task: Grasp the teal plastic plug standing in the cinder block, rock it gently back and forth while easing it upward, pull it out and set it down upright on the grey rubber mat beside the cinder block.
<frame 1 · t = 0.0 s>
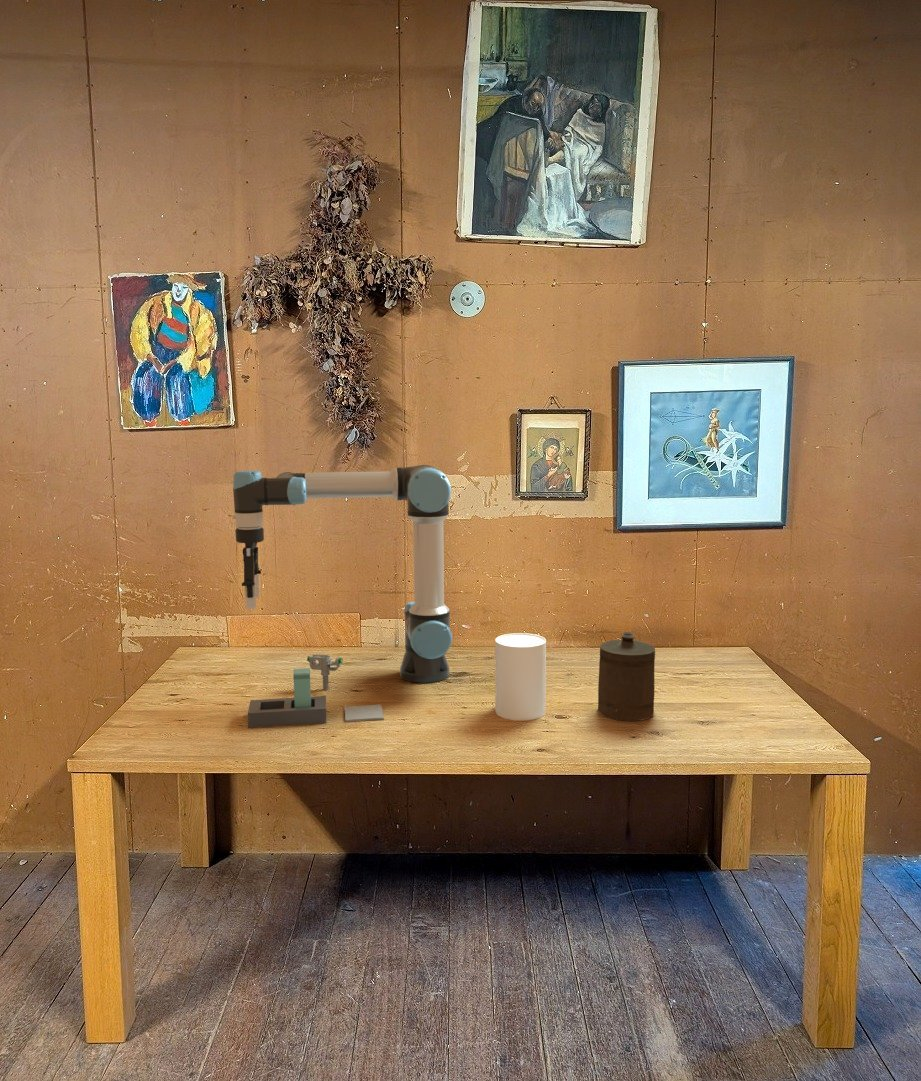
hand: (252, 603, 245), 28 cm above the table, fingers open, 13 cm apart
mat: (363, 714, 238), on the table
canister: (520, 712, 239), on the table
cinder block: (288, 718, 235), on the table
mechanical component: (325, 690, 258), on the table
wooden container: (625, 712, 238), on the table
plug: (303, 717, 235), resting in cinder block
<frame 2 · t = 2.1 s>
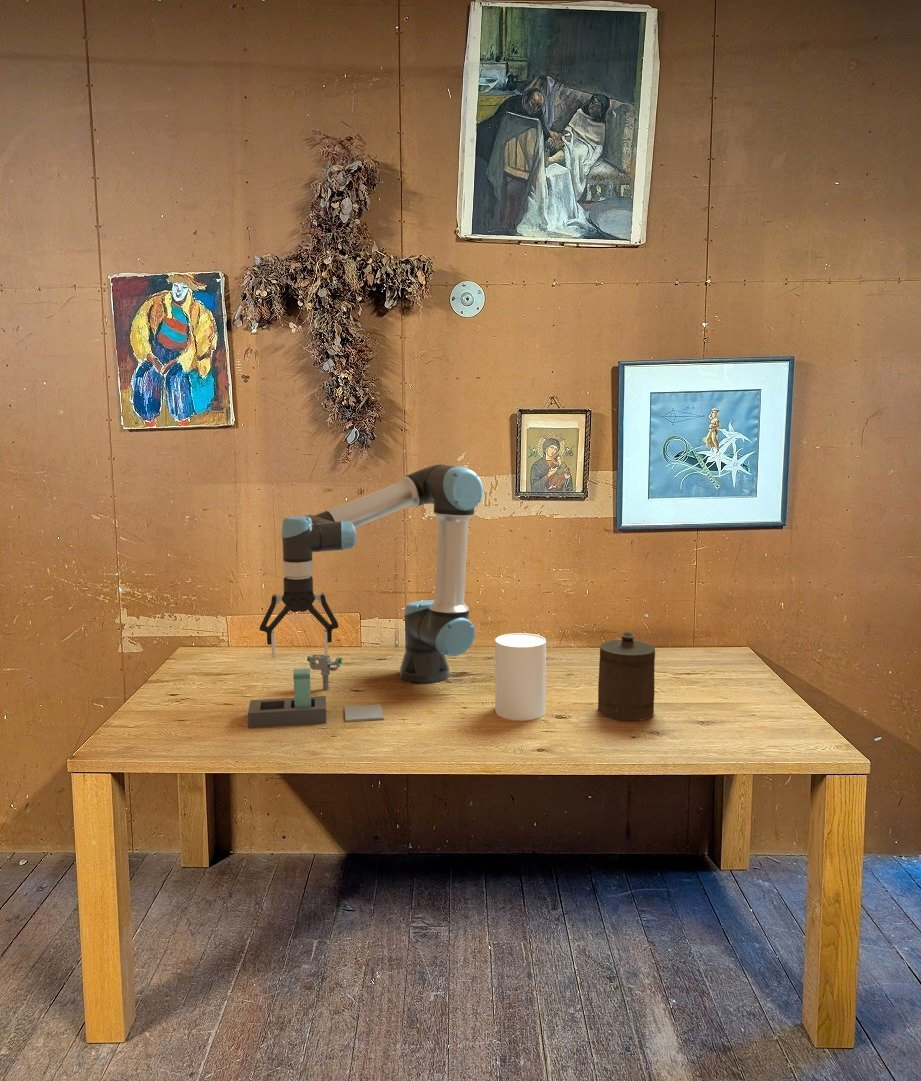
hand: (300, 655, 232), 17 cm above the table, fingers open, 13 cm apart
nothing on the table moved.
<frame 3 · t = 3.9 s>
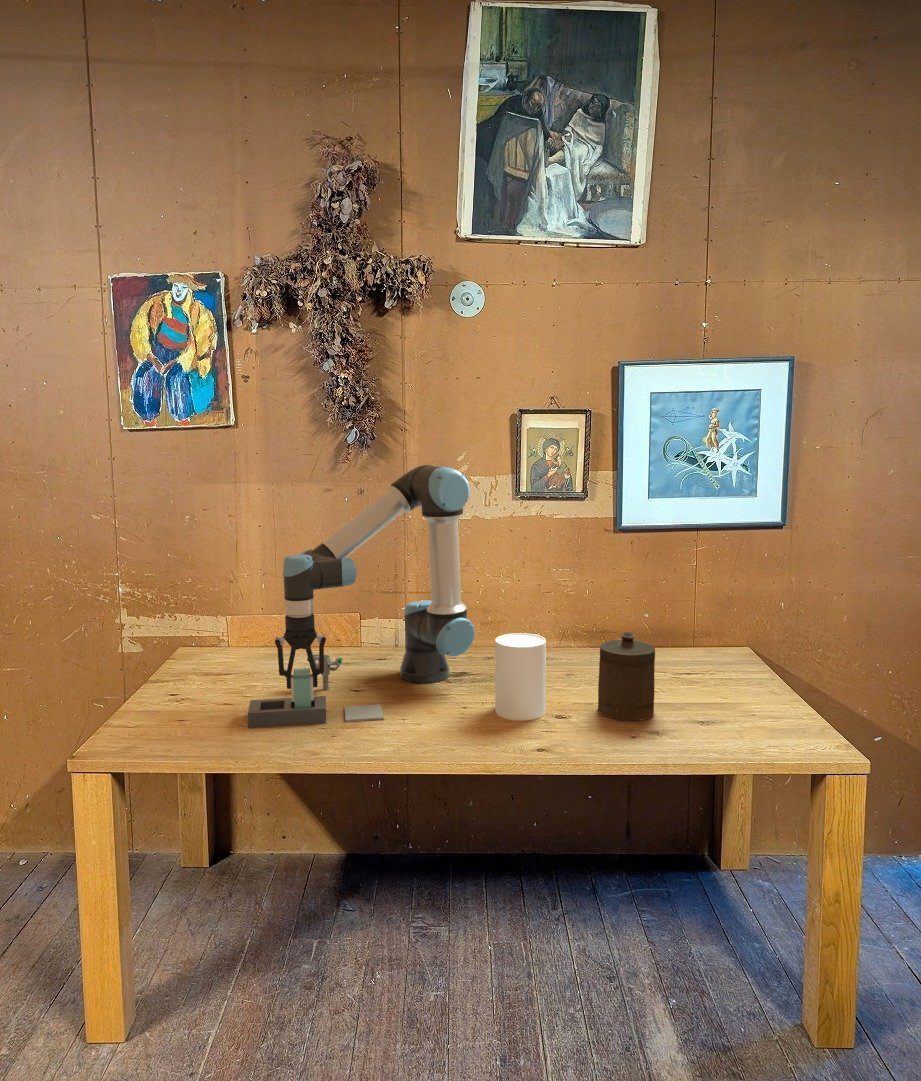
hand: (302, 699, 234), 5 cm above the table, fingers closed on plug, 4 cm apart
plug: (303, 717, 235), resting in cinder block, touching gripper
everything else where it was.
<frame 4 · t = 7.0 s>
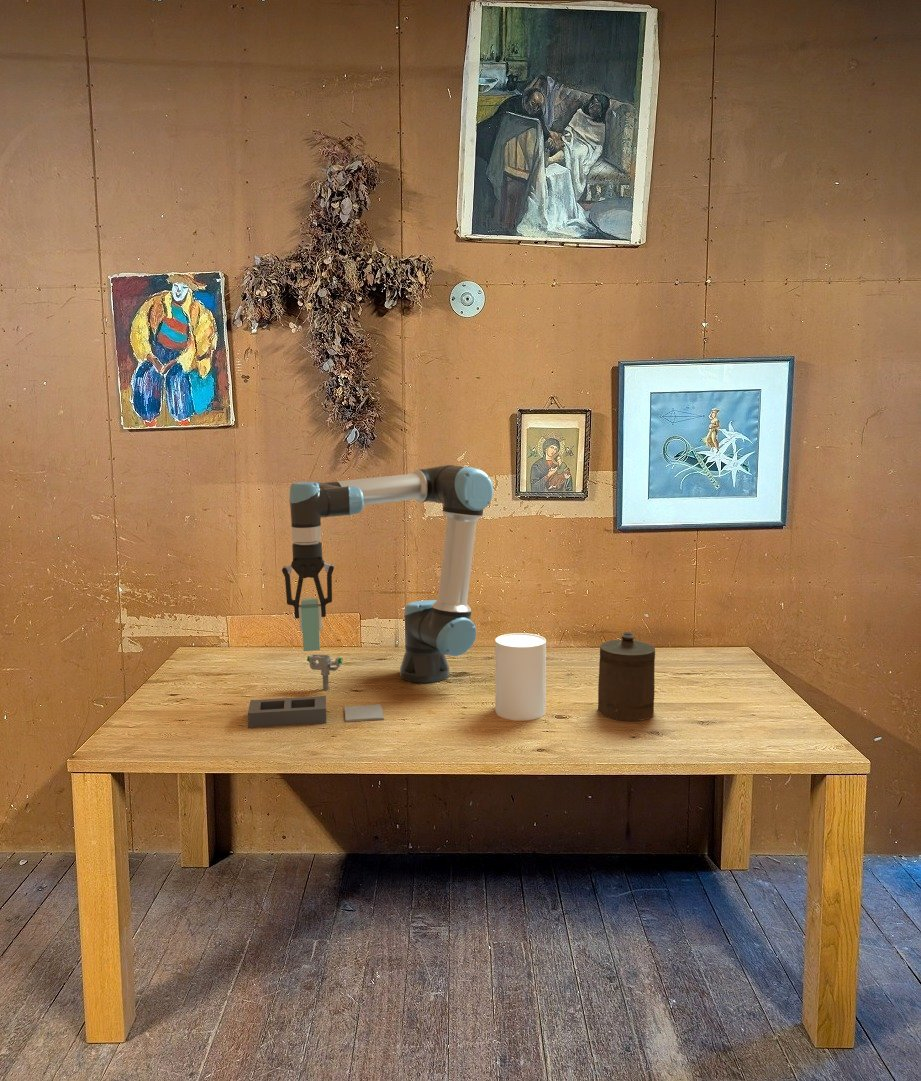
hand: (311, 629, 232), 24 cm above the table, fingers closed on plug, 4 cm apart
plug: (311, 648, 233), point 19 cm above the table, touching gripper
everything else where it was.
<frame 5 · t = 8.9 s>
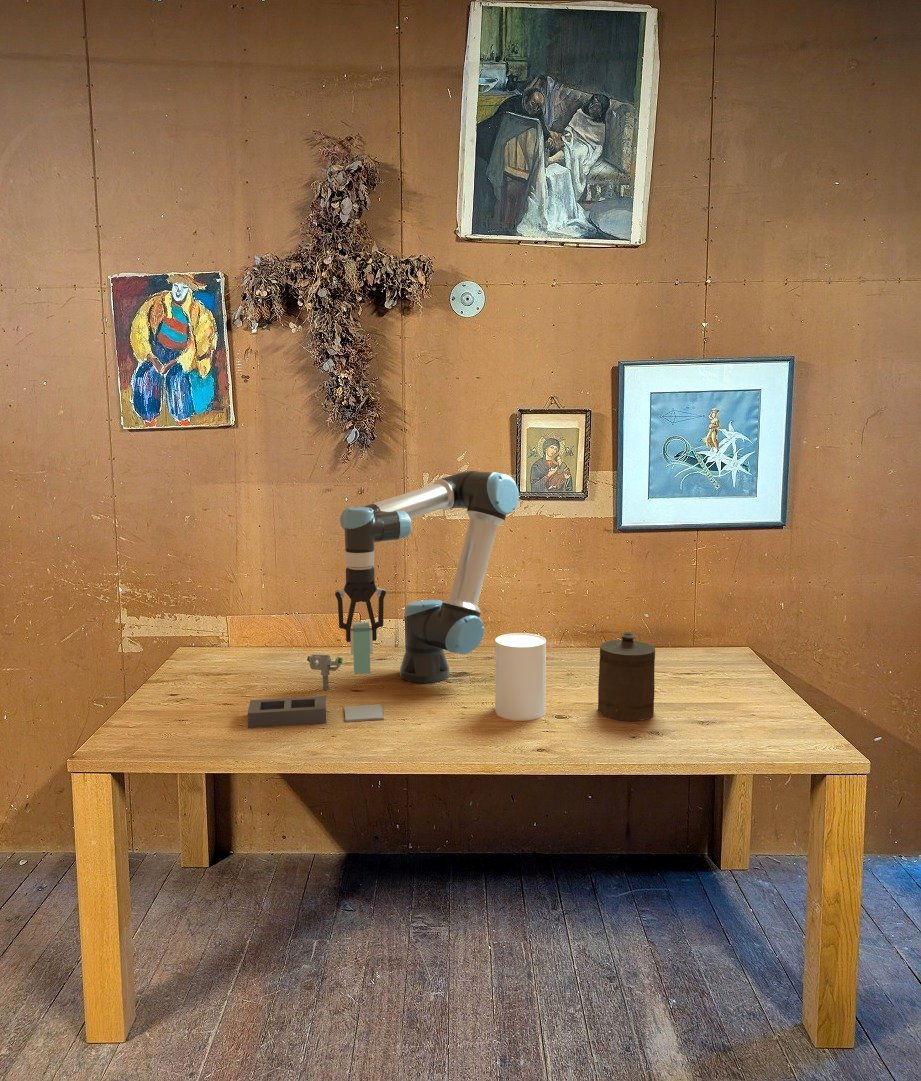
hand: (361, 652, 235), 17 cm above the table, fingers closed on plug, 4 cm apart
plug: (362, 671, 235), point 12 cm above the table, touching gripper
everything else where it was.
when the fingers open (7 cm above the table, at t = 10.5 s): plug drops 2 cm, resting on mat.
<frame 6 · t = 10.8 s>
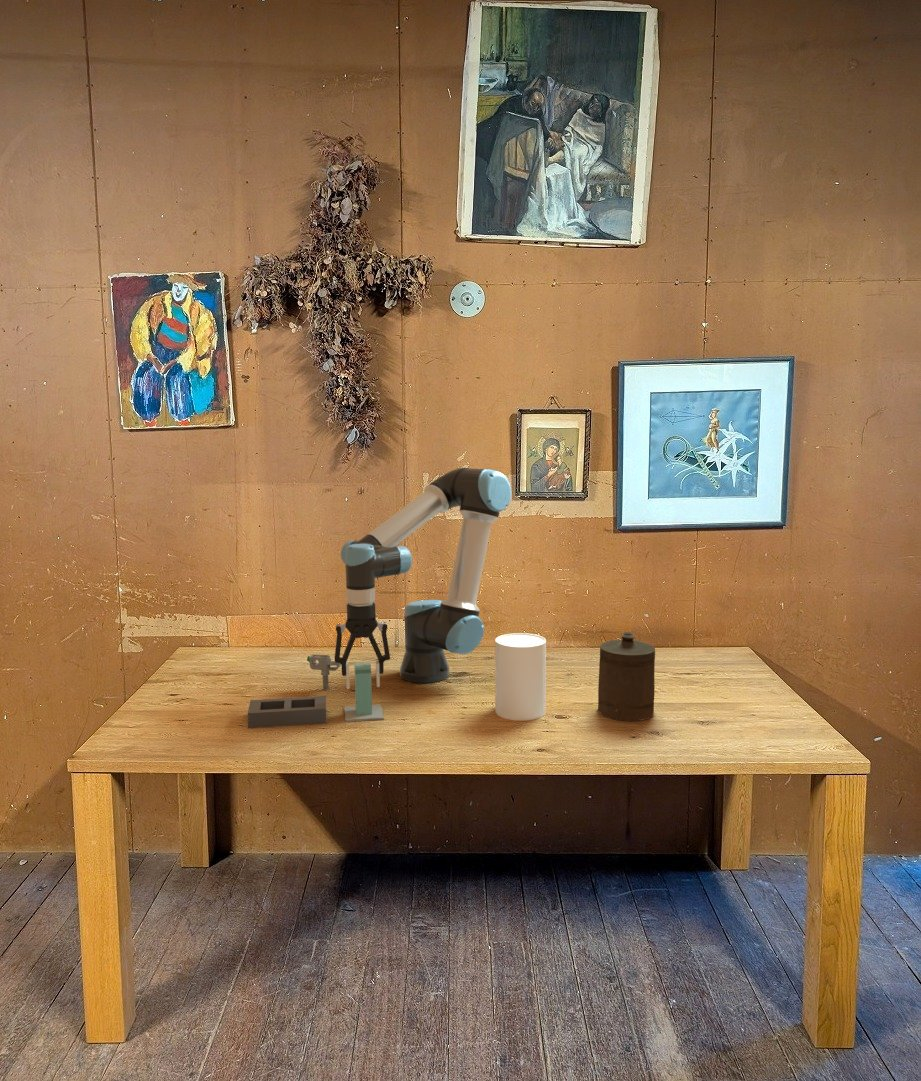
hand: (363, 685, 236), 8 cm above the table, fingers open, 7 cm apart
plug: (363, 712, 237), point 1 cm above the table, touching mat
everything else where it was.
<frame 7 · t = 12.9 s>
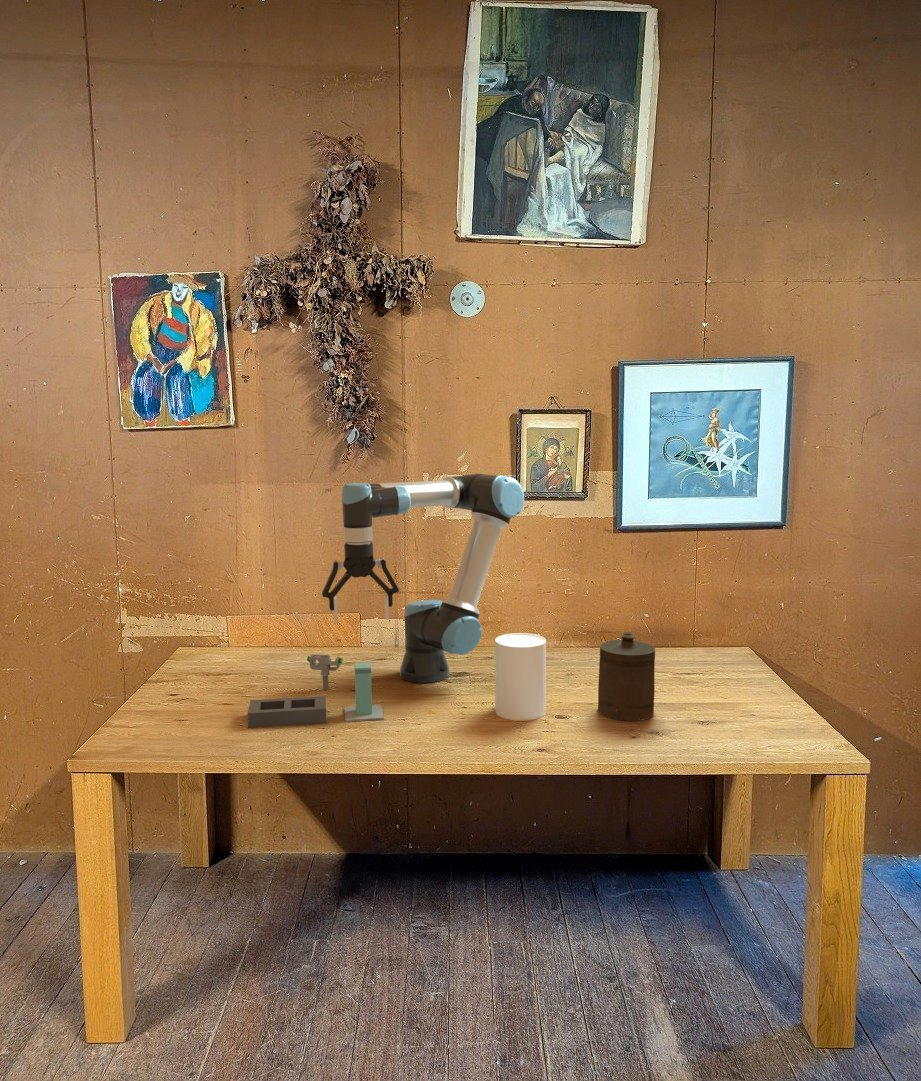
hand: (361, 620, 236), 25 cm above the table, fingers open, 13 cm apart
nothing on the table moved.
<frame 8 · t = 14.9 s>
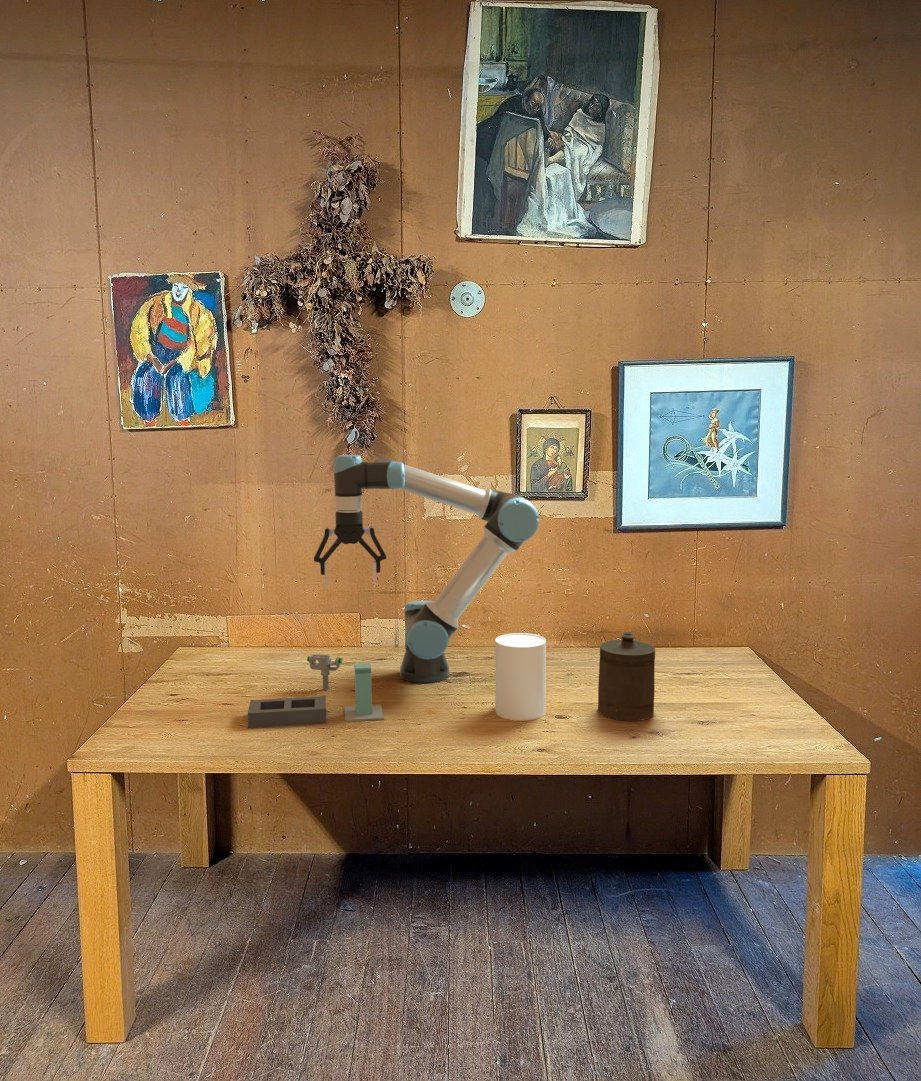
hand: (350, 585, 250), 32 cm above the table, fingers open, 13 cm apart
nothing on the table moved.
at the end: plug inside the target area on the mat (0.0 cm from its centre), point 0.6 cm above the mat's base; plug tilted 0°; the gripper is holding nothing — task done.
